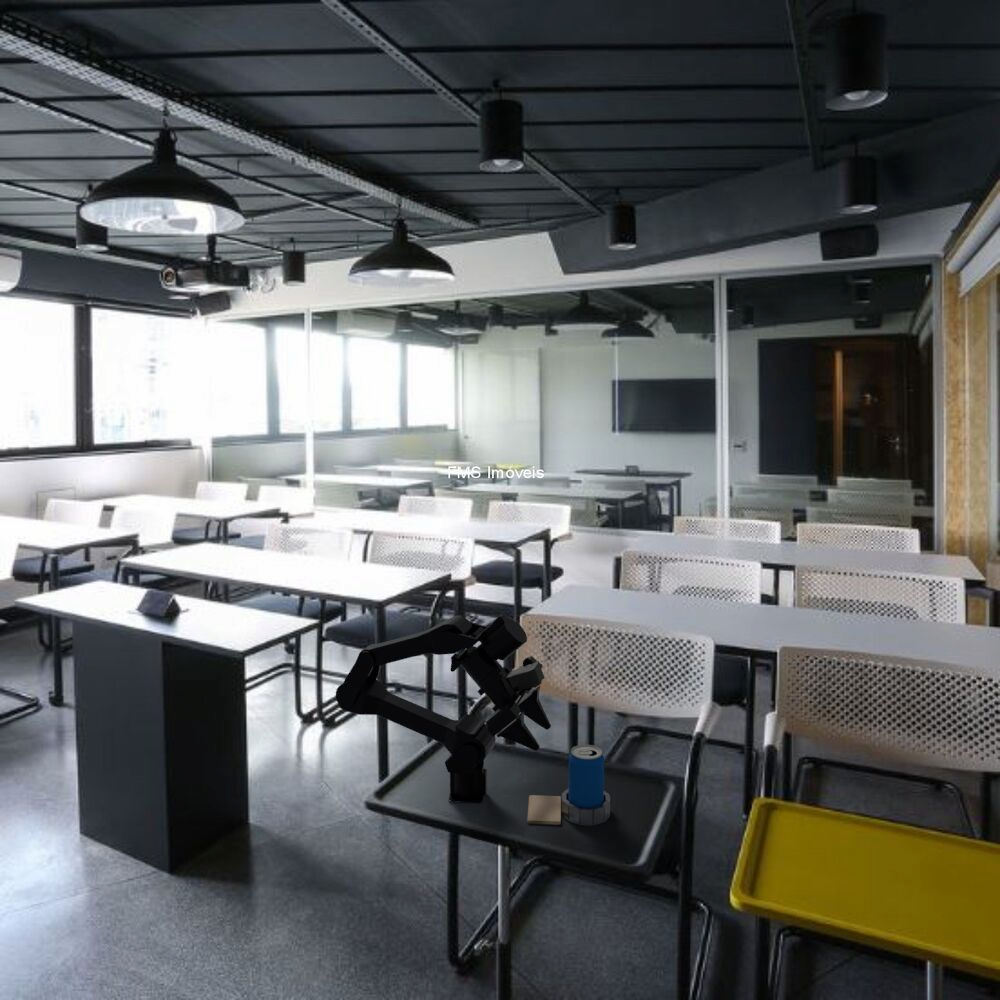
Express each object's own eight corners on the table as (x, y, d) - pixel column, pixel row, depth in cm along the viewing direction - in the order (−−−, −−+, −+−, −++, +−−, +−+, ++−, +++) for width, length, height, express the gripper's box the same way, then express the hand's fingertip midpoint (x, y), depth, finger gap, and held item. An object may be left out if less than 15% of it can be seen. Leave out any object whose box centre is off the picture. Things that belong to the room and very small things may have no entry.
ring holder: (561, 824, 148) (561, 808, 148) (561, 799, 157) (562, 784, 156) (611, 826, 148) (611, 810, 147) (608, 801, 156) (608, 786, 156)
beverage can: (605, 822, 149) (606, 759, 147) (569, 821, 149) (569, 759, 147) (601, 803, 155) (602, 743, 154) (567, 803, 155) (567, 743, 154)
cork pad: (527, 823, 149) (527, 820, 148) (529, 798, 157) (529, 795, 157) (560, 824, 148) (560, 821, 148) (560, 799, 157) (560, 796, 157)
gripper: (505, 665, 143) (565, 734, 141) (531, 633, 160) (584, 694, 159) (460, 702, 146) (519, 770, 145) (491, 666, 164) (543, 727, 162)
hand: (543, 738), depth 153 cm, fingers open, 9 cm apart
